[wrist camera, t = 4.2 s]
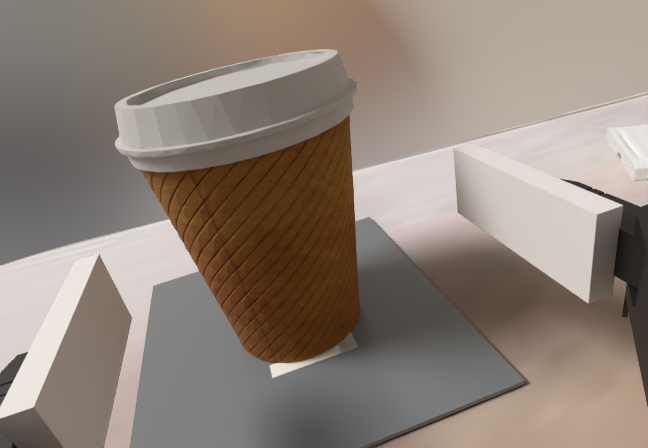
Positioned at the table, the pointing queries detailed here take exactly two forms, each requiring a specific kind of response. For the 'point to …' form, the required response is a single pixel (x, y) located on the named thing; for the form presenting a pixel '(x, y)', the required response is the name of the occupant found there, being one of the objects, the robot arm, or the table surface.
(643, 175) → the external hard drive
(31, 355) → the robot arm
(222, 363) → the tile
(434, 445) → the table surface
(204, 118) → the disposable coffee cup
